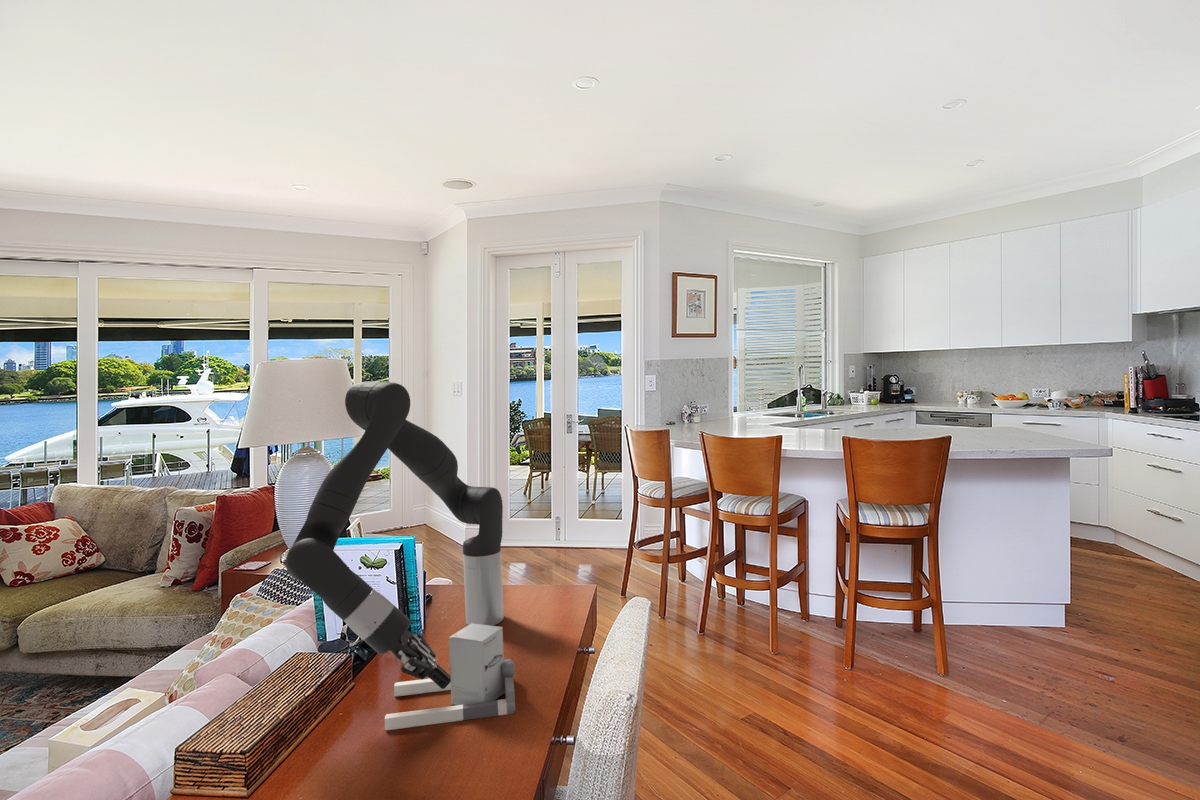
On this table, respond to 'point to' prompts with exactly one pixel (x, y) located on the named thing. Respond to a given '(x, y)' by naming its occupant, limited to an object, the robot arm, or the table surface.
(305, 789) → the table surface
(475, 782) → the table surface
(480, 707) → the guide channel
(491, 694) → the supplement box
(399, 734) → the table surface
